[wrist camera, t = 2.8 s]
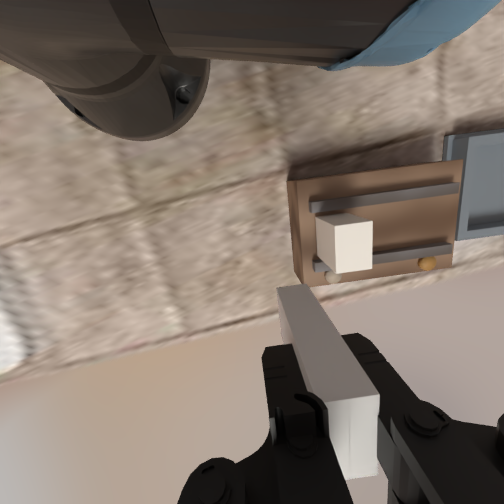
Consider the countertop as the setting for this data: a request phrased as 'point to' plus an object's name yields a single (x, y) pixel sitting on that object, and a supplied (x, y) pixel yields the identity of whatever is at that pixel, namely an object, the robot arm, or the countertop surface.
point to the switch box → (380, 218)
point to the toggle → (344, 242)
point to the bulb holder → (479, 182)
